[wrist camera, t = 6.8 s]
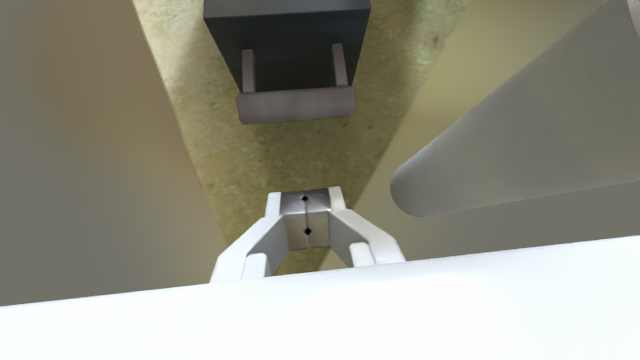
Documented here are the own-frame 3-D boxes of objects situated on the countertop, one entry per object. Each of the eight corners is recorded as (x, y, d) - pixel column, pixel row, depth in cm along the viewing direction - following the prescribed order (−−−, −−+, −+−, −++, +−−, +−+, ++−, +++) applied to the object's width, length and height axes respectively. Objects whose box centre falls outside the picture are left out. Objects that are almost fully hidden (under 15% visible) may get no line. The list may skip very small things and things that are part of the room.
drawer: (359, 140, 17) (385, 87, 11) (243, 150, 16) (202, 101, 10) (335, -25, 20) (345, -136, 14) (237, -20, 19) (204, -132, 14)
